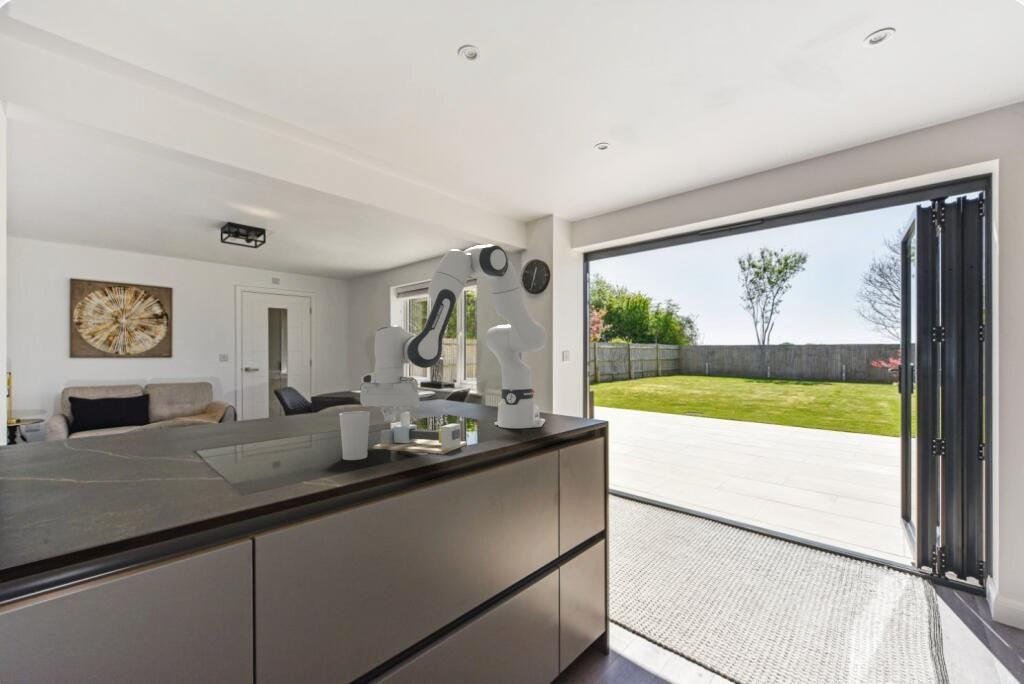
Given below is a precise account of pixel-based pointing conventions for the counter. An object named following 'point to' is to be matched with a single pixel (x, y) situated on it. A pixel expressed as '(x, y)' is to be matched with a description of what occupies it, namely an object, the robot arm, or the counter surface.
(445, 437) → the connector
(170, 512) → the counter surface
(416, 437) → the dark grey bar
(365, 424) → the cup
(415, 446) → the board
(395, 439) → the sleeve
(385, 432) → the light grey block
